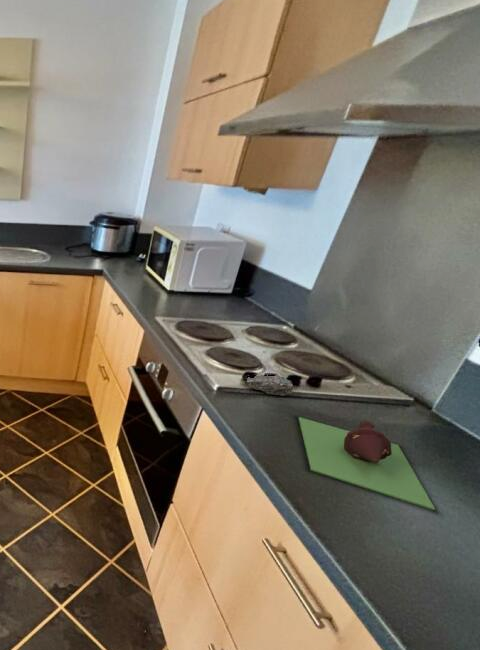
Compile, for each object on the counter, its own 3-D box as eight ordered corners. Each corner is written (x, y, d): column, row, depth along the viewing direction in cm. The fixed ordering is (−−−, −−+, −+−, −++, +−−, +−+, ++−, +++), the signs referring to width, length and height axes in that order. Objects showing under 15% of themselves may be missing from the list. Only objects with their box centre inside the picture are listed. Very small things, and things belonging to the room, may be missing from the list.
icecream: (415, 461, 74) (390, 427, 86) (369, 437, 77) (351, 408, 89) (383, 486, 78) (364, 451, 90) (340, 463, 80) (327, 431, 92)
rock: (240, 377, 115) (246, 364, 113) (283, 386, 112) (289, 373, 110) (244, 389, 109) (250, 375, 107) (289, 399, 105) (296, 385, 103)
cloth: (397, 446, 90) (398, 444, 90) (434, 510, 73) (435, 509, 73) (298, 418, 98) (299, 416, 98) (310, 470, 81) (311, 469, 80)
